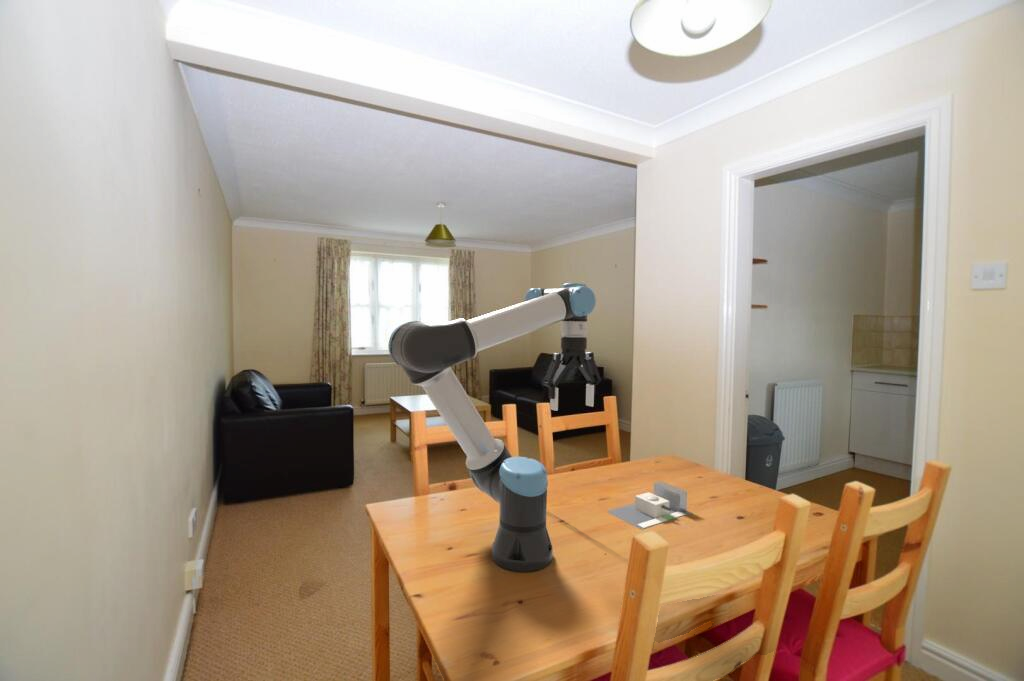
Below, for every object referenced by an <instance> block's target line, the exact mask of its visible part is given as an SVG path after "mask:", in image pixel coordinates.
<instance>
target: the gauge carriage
mask: <svg viewBox="0 0 1024 681" xmlns="http://www.w3.org/2000/svg"><path fill="white" fill-rule="evenodd" d="M634 503H635V509H636V510H639V511H641V512H643V513H645V514H647V515H649V516H651V517H653V518H658V517H661V516H664V515H667V514H669V511H670V510H671V508H669V501H668V500H666V499H664V498H661V497H659V496H656V495H654V493H653V492H652V493H651V492H649V491H648V492H645V493H641V494H637V495H634Z"/></svg>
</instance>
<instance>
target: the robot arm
mask: <svg viewBox="0 0 1024 681" xmlns="http://www.w3.org/2000/svg"><path fill="white" fill-rule="evenodd" d="M596 303H597V301H596V296H595V293H594V291H593V290H592V289H591V288H590V287H588V286H587V284H586V283H580V282H579V283H578V282H576V283H575V282H567V283H564V284H562V286H561V287H554V288H553V287H552V288H551V287H550V288H541V287H538V288H537V287H536V288H533V287H532V288H529V290H527V292H526V294H525V296H524V302H520V303H517V304H514V305H511V306H508V307H505V308H502V309H499V310H495V311H492V312H490V313H486V314H484V315H483V314H482V315H481V316H478V317H474V318H471V319H468V320H466V319H464V318H462V317H461V318H460V317H459V318H456V319H454V320H448V321H444V322H443V321H442V322H421V321H418V320H412V321H407V322H405V323H402V324H400V325H399V326H398V327H396V328H395V329H394V330H393V331H392V333H391V334H390V336H389V340H388V345H387V346H388V353H389V355H390V357H391V359H392V361H393V362H394V363H395V364H396V365H398V366H400V367H401V368H402V370H403V371H404V373H405V374H406V376H407V377H408V379H409V380H410V382H411V384H412V385H414V386H419V387H422V389H423V390H424V392H425V394H426V395H427V397H428V398H429V400H430V401H431V403H432V404H433V406H434V408H435V409H436V411H437V412H438V414H439V415H440V417H441V418H442V420H443V421H444V423H445V424H446V426H447V428H448V429H449V430H450V431H449V432H450V433H451V434H452V435H453V437H454V439H455V440H456V442H457V443H458V445H459V446H460V448H461V449H462V451H463V452H464V454H465V455H466V460H465V466H466V468H467V469H468V470H469V471H468V472H469V475H470V476H469V477H470V479H471V480H472V482H473V484H474V485H475V486H476V488H477V489H478V490H480V491H481V492H483V493H484V494H486V495H488V496H489V497H490V498H491V499H493V500H494V502H495V501H496V503H498V504H499V522H498V523H499V524H498V528H497V531H496V534H495V537H494V541H493V543H492V545H491V558H492V560H493V562H494V564H496V565H497V566H499V567H500V568H503V569H505V570H509V571H513V572H520V573H525V572H526V573H529V572H535V571H539V570H543V569H545V568H547V566H549V565H550V564H551V563H552V561H553V554H554V552H553V550H554V548H553V545H552V541H551V539H550V538H551V537H550V535H549V532H548V528H547V503H548V500H547V499H548V485H549V483H548V473H547V469H546V467H545V466H544V464H542V463H541V462H540V461H539V460H536V459H534V458H532V457H531V458H528V457H526V456H512V454H511V453H510V451H509V450H508V447H507V446H506V444H505V443H504V441H503V440H502V439H499V438H494V436H493V434H492V432H491V431H490V429H489V427H488V426H487V424H486V423H485V421H484V420H483V418H482V416H481V415H480V413H479V412H478V410H477V408H476V407H475V405H474V403H473V402H472V400H471V398H470V397H469V394H467V392H466V390H465V389H464V387H463V385H462V384H461V382H460V380H459V378H458V377H457V375H456V373H455V372H454V370H453V369H452V367H454V366H456V365H459V364H461V363H464V362H466V361H469V360H472V359H474V358H476V357H477V354H478V352H481V351H482V350H486V349H488V348H491V347H495V346H497V345H499V344H501V343H502V344H503V343H505V342H508V341H510V340H512V339H516V338H518V337H522V336H524V335H526V334H530V333H533V332H534V331H538V330H540V329H543V328H546V327H547V326H548V327H549V326H551V325H554V324H556V323H560V322H561V324H560V334H561V335H562V337H561V338H560V349H561V353H559V352H558V353H557V352H553V353H552V357H551V358H552V359H551V362H550V364H549V367H548V368H547V369H548V370H547V371H546V374H545V377H544V379H543V381H542V385H543V386H545V387H547V388H548V399H549V402H550V403H549V409H550V410H552V411H555V412H556V411H559V387H557V386H558V385H559V383H560V381H562V380H561V379H562V378H563V377H564V375H565V374H566V372H567V371H569V370H570V369H575V368H576V369H579V371H580V372H581V373H582V376H584V378H585V380H586V381H587V383H586V385H585V387H586V388H585V406H587V407H592V408H593V407H594V404H595V401H594V400H595V395H596V386H597V385H599V383H601V381H602V378H601V375H600V373H599V369H598V368H597V363H596V361H595V356H594V352H592V351H586V350H587V348H588V346H587V345H588V341H587V340H588V338H587V337H586V336H587V335H588V315H590V314H591V313H592V312H594V309H595V308H596V305H597V304H596Z"/></svg>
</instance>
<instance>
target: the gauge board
mask: <svg viewBox="0 0 1024 681" xmlns="http://www.w3.org/2000/svg"><path fill="white" fill-rule="evenodd" d="M606 513H608V514H610V515H612V516H615V518H618V519H621V520H622V521H624V522H626V523H628V524H629V525H632V526H633V527H635V528H637V529H639V530H645V529H648V528H652V527H654V526H657V525H659V524H660V525H661V524H664V523H666V522H670V521H672V520H676V519H678V518H681V517H685V516H687V515H690V514H693V512H691V511H689V510H686V511H684V512H677V511H674V510H672V509H671V510H670V511H669V514H667V515H664V516H661V517H658V518H653V517H651V516H649V515H647V514H645V513H643V512H641V511H639V510H636V509H635V502H634V503H630V504H627V505H624V506H623V505H622V506H620V507H616V508H612V509H609V510H606Z"/></svg>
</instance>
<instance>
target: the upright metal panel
mask: <svg viewBox="0 0 1024 681" xmlns="http://www.w3.org/2000/svg"><path fill="white" fill-rule="evenodd" d="M653 494H654V495H656V496H659V497H661V498H664V499H666V500H668V501H669V508H671V509H672V510H674V511H677V512H684V511H686V510H687V505H688V504H687V503H688V491H687V490H685V489H682V488H680V487H677V486H676V485H675V486H674V485H672V484H670V483H666V482H663V481H656V482H653ZM687 511H688V510H687Z"/></svg>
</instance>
